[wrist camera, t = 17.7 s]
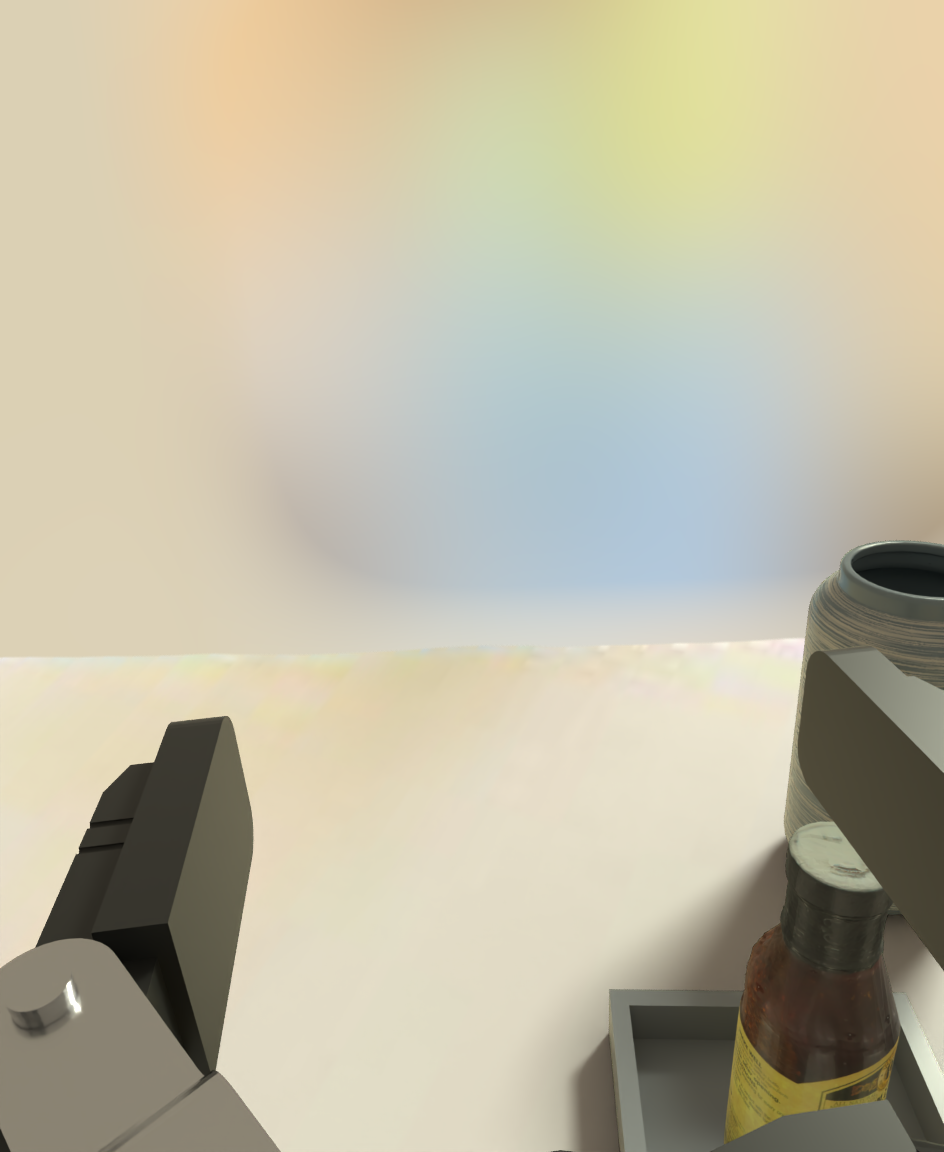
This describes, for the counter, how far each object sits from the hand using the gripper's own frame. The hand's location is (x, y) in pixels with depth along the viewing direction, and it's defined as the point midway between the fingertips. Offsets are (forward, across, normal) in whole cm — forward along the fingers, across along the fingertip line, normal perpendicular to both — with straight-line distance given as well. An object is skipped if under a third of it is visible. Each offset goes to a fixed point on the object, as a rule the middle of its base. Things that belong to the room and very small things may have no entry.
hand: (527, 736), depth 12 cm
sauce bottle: (+14, -14, +37) cm, 42 cm away
